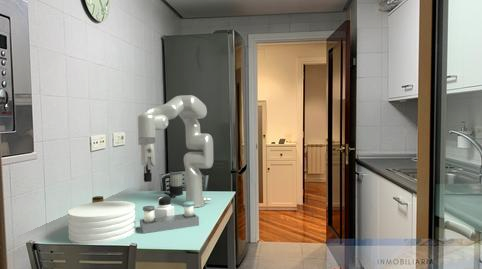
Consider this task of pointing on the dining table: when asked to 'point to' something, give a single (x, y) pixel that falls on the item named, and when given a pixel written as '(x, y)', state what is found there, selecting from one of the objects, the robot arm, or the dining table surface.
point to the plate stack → (101, 222)
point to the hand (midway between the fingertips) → (147, 181)
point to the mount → (168, 223)
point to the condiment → (97, 199)
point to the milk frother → (173, 184)
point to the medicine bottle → (164, 207)
